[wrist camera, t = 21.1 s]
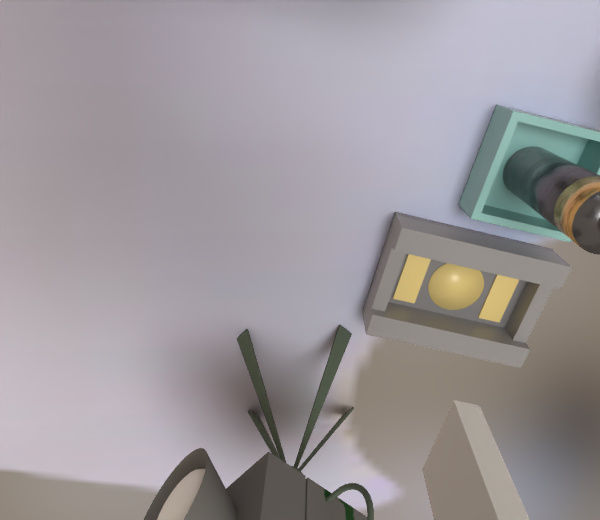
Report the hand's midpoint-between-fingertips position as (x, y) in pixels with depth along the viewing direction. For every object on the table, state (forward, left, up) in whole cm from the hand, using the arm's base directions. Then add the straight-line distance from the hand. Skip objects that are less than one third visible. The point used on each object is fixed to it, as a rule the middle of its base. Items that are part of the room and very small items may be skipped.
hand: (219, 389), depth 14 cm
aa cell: (-4, +19, -28) cm, 34 cm away
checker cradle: (+7, +17, -29) cm, 34 cm away
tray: (-4, +19, -29) cm, 35 cm away
